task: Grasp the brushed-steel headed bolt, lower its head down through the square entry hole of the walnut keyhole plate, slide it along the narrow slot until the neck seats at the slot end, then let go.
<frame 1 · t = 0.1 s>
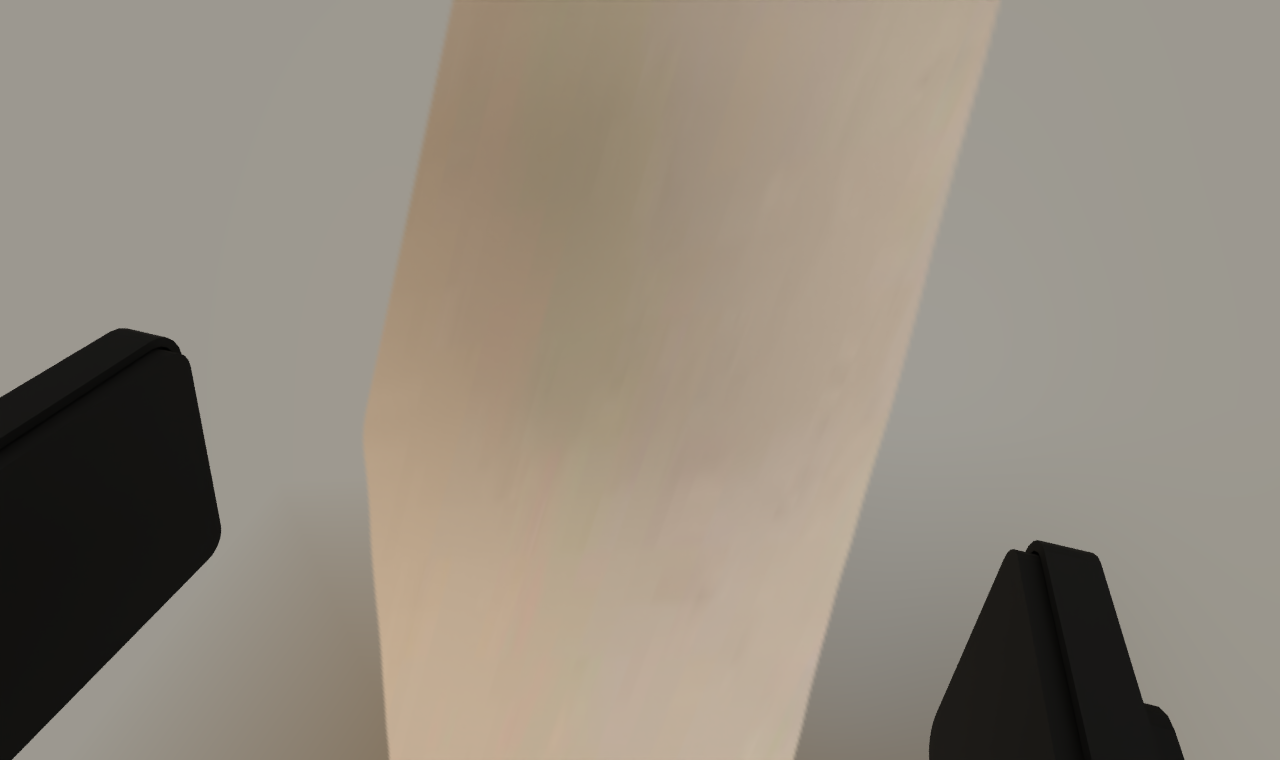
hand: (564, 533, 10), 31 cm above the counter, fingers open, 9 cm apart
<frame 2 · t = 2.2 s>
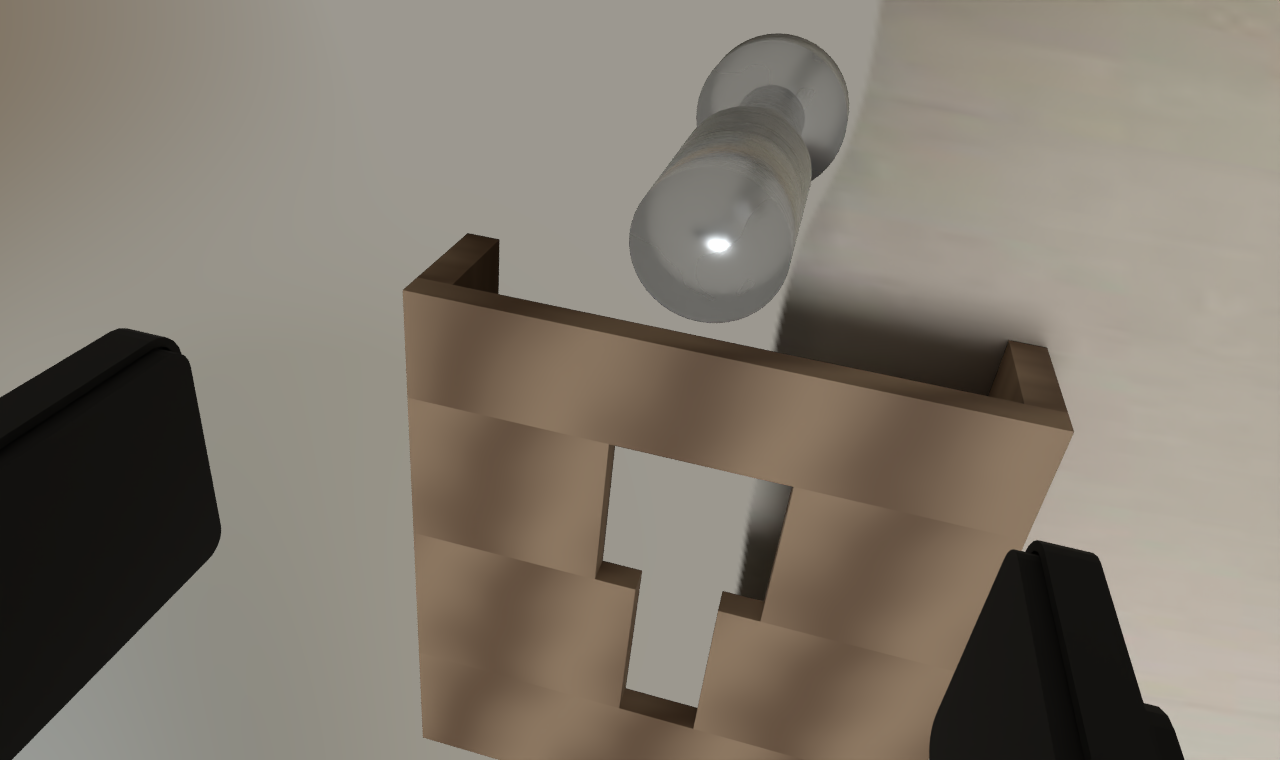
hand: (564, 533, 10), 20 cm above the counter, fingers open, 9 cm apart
keyhole plate: (695, 549, 36), on the counter
keyhole bolt: (774, 110, 27), on the counter
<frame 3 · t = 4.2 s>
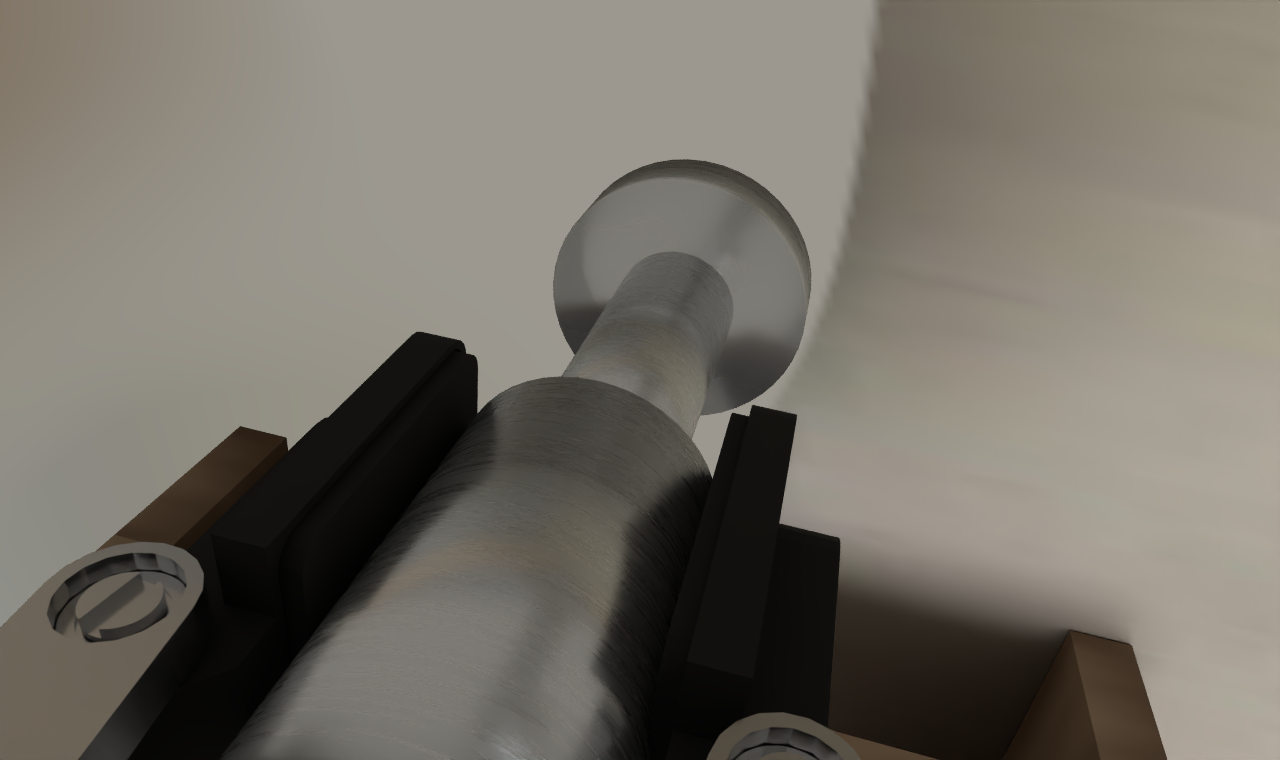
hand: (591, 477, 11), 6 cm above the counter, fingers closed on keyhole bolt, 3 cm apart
keyhole bolt: (688, 278, 16), on the counter, touching gripper
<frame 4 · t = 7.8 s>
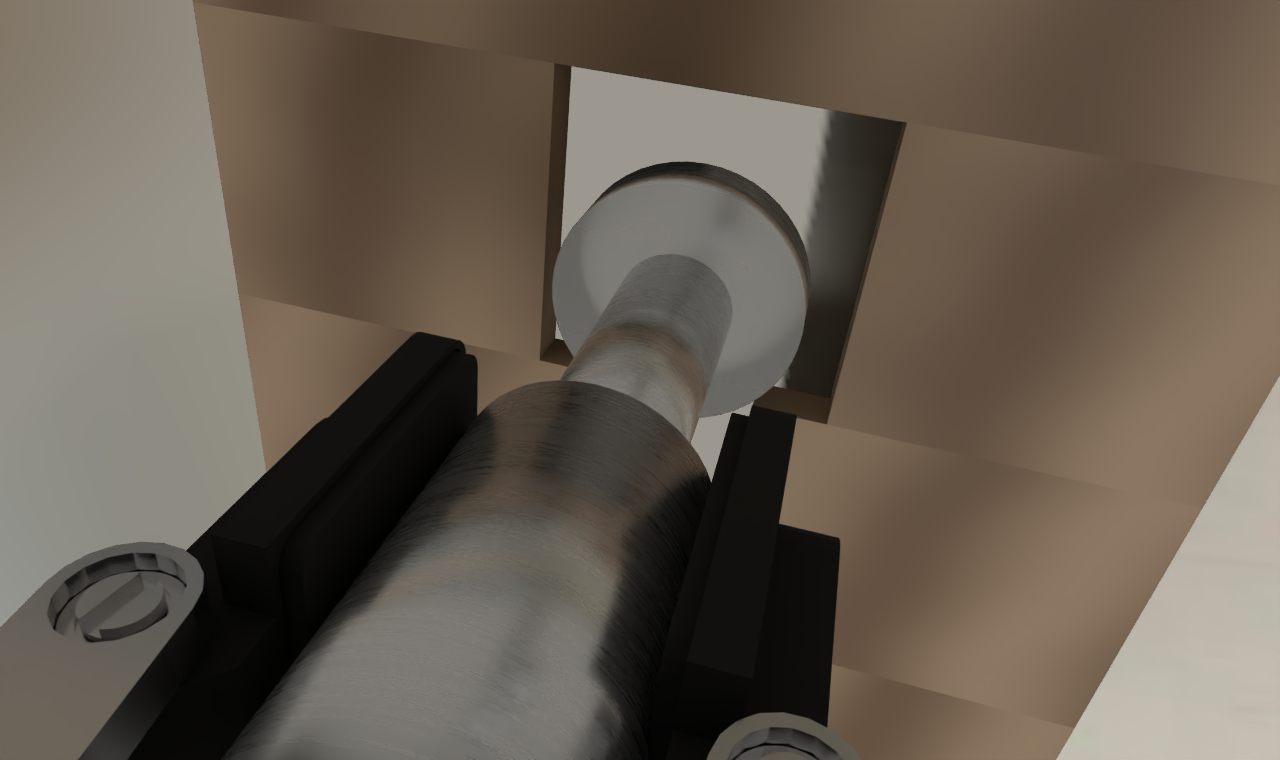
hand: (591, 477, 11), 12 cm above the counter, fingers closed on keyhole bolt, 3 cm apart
keyhole plate: (708, 358, 23), on the counter
keyhole bolt: (687, 280, 16), point 5 cm above the counter, touching gripper
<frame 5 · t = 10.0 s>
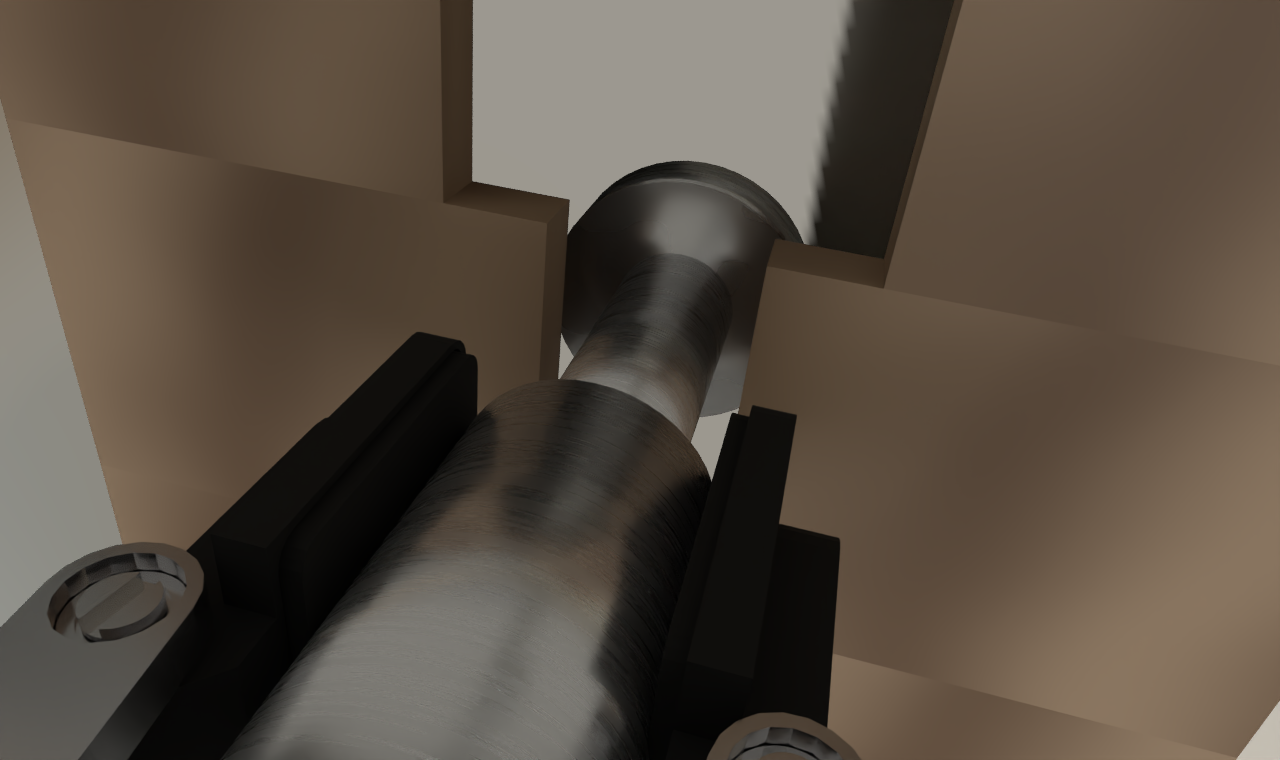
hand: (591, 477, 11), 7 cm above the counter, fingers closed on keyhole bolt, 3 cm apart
keyhole plate: (701, 246, 17), on the counter
keyhole bolt: (688, 280, 16), point 1 cm above the counter, touching gripper
when the fingers open (7 cm above the counter, at t = 11.7 s): keyhole bolt stays where it is, on the counter.
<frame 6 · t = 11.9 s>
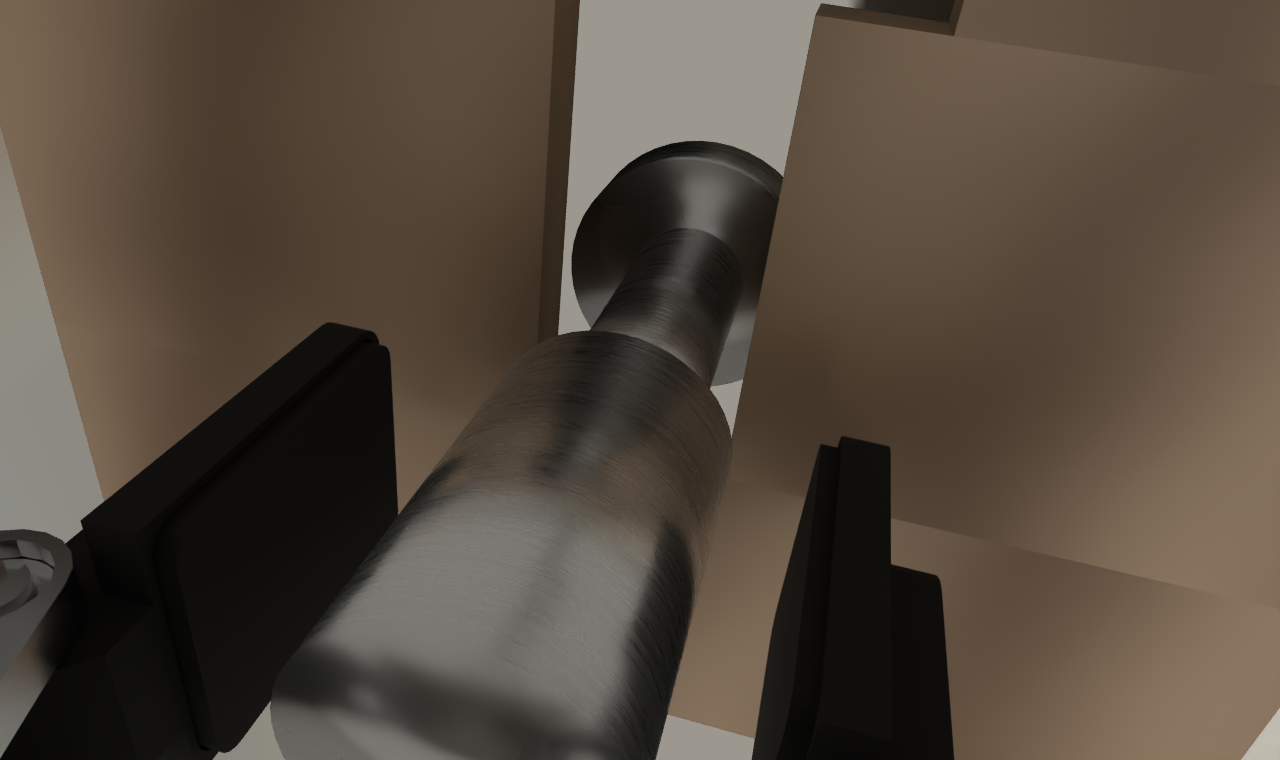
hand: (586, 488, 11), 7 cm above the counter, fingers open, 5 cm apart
keyhole plate: (724, 84, 15), on the counter
keyhole bolt: (700, 255, 17), on the counter
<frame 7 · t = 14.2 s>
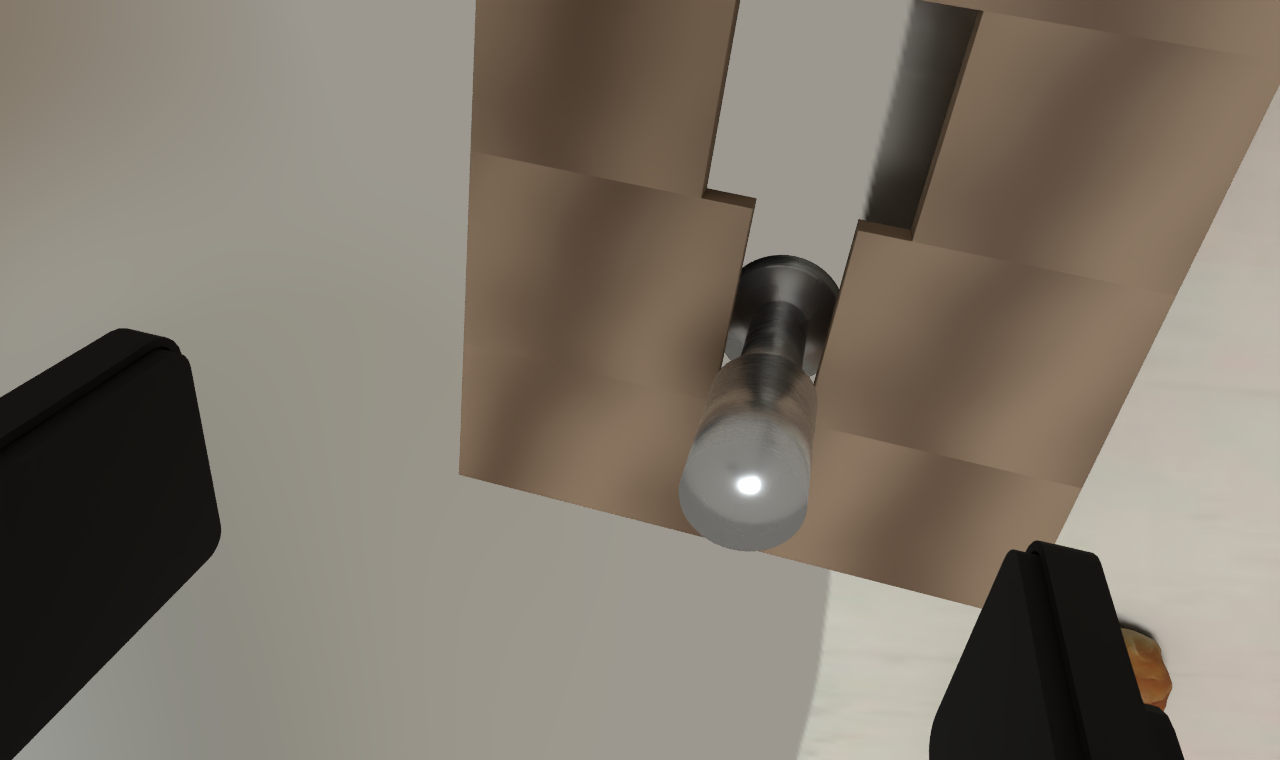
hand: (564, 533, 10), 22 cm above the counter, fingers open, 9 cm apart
keyhole plate: (801, 228, 30), on the counter
pastry: (1050, 694, 38), on the counter
keyhole bolt: (781, 312, 32), on the counter
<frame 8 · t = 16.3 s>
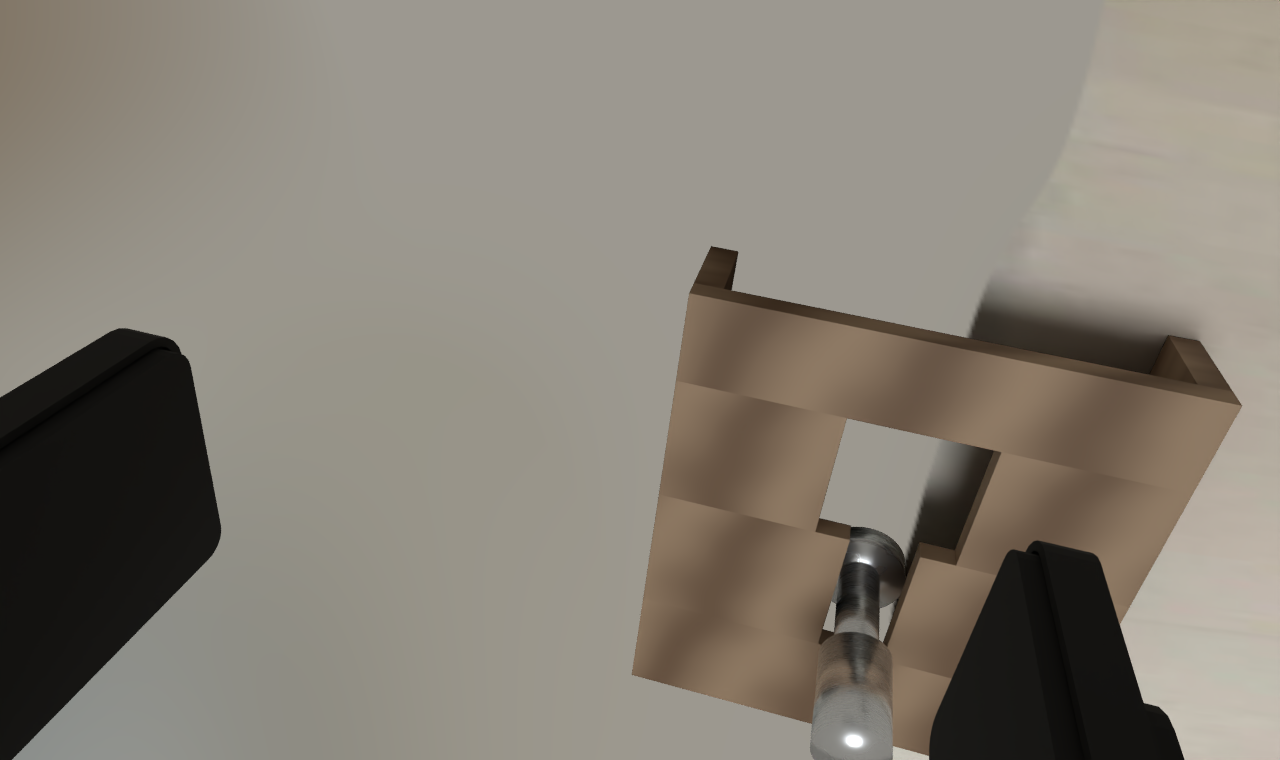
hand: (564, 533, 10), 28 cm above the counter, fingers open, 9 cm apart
keyhole plate: (874, 512, 43), on the counter
keyhole bolt: (859, 561, 45), on the counter
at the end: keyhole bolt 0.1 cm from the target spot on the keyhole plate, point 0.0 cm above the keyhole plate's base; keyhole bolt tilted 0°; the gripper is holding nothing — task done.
